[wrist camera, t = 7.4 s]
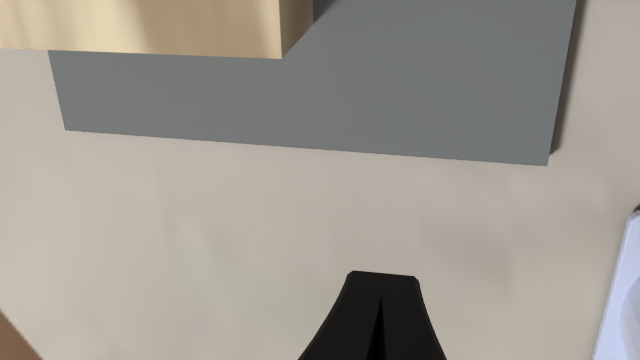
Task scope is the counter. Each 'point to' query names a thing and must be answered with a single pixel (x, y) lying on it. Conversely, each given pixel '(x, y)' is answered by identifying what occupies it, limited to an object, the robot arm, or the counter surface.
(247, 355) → the counter surface
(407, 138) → the rubber mat
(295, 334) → the counter surface
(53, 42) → the oak block
